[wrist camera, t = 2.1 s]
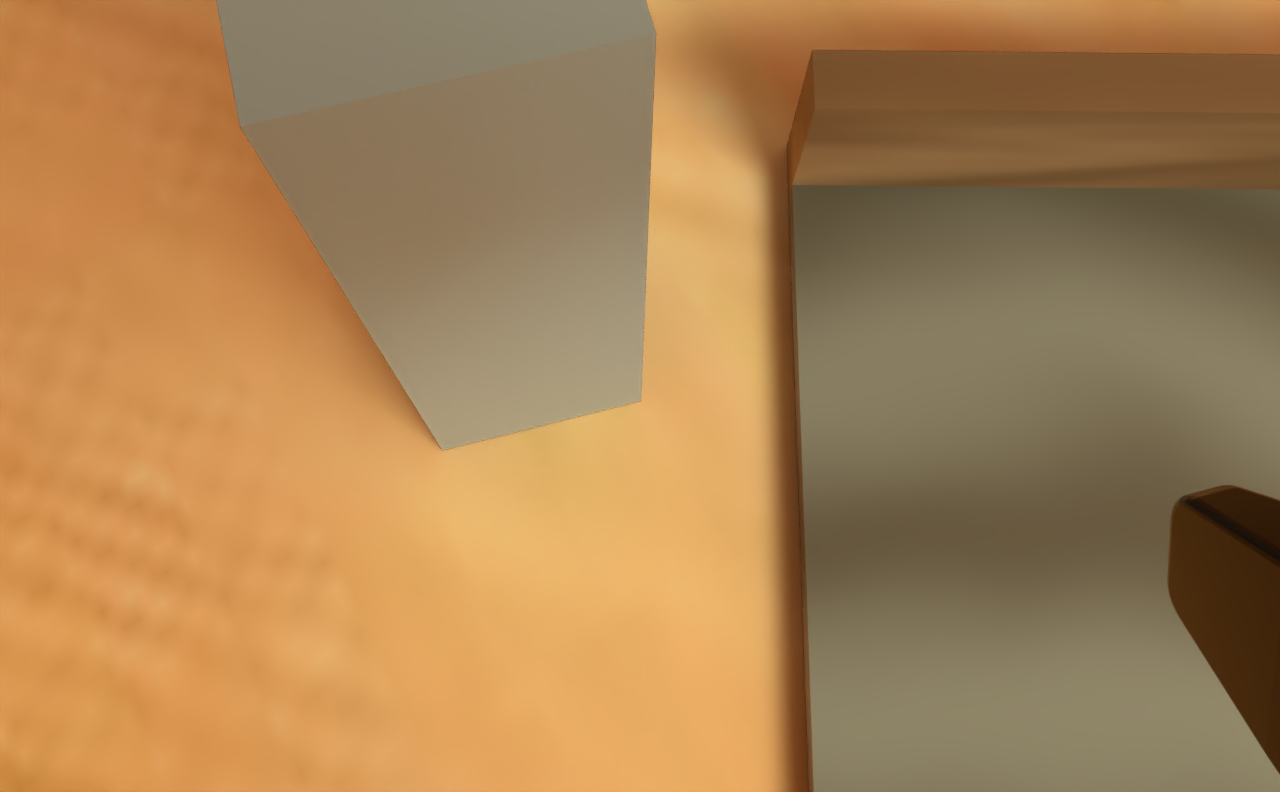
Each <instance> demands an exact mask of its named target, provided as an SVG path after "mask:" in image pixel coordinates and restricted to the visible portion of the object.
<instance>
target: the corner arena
mask: <svg viewBox="0 0 1280 792" xmlns="http://www.w3.org/2000/svg"><path fill="white" fill-rule="evenodd" d="M787 171H788V200H789V229H790V258H791V287H792V316H793V345H794V375H795V404H796V433H797V462H798V491H799V520H800V549H801V578H802V608H803V637H804V666H805V695H806V724H807V753H808V782H809V792H1280V774H1279V773H1278V771H1277V770H1276V769H1275V767H1274V766H1273V764H1272V763H1271V761H1270V760H1269V758H1268V757H1267V755H1266V754H1265V752H1264V751H1263V749H1262V747H1261V746H1260V744H1259V743H1258V741H1257V740H1256V738H1255V736H1254V735H1253V733H1252V732H1251V730H1250V729H1249V727H1248V725H1247V724H1246V722H1245V721H1244V719H1243V718H1242V716H1241V714H1240V713H1239V711H1238V710H1237V708H1236V706H1235V705H1234V703H1233V702H1232V700H1231V699H1230V697H1229V695H1228V694H1227V692H1226V691H1225V689H1224V688H1223V686H1222V684H1221V683H1220V681H1219V680H1218V678H1217V676H1216V675H1215V673H1214V672H1213V670H1212V669H1211V667H1210V665H1209V664H1208V662H1207V661H1206V659H1205V658H1204V656H1203V654H1202V653H1201V651H1200V650H1199V648H1198V646H1197V645H1196V643H1195V642H1194V640H1193V639H1192V637H1191V635H1190V634H1189V632H1188V631H1187V629H1186V628H1185V626H1184V624H1183V623H1182V621H1181V620H1180V618H1179V616H1178V615H1177V613H1176V611H1175V609H1174V607H1173V604H1172V602H1171V599H1170V596H1169V591H1168V584H1167V575H1168V557H1169V540H1170V523H1171V513H1172V508H1173V506H1174V504H1175V502H1176V501H1177V500H1178V499H1179V498H1181V497H1182V496H1184V495H1187V494H1191V493H1195V492H1198V491H1202V490H1206V489H1210V488H1213V487H1217V486H1222V485H1234V486H1238V487H1242V488H1245V489H1248V490H1251V491H1254V492H1257V493H1260V494H1263V495H1266V496H1269V497H1273V498H1276V499H1279V500H1280V55H1266V54H1167V53H1067V52H968V51H869V50H812V53H811V57H810V61H809V65H808V68H807V72H806V76H805V80H804V83H803V87H802V91H801V95H800V98H799V102H798V106H797V110H796V113H795V117H794V121H793V125H792V129H791V132H790V136H789V140H788V144H787Z"/></svg>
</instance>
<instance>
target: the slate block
mask: <svg viewBox="0 0 1280 792" xmlns="http://www.w3.org/2000/svg"><path fill="white" fill-rule="evenodd" d="M216 1H217V7H218V12H219V17H220V23H221V28H222V33H223V39H224V44H225V50H226V55H227V60H228V66H229V71H230V76H231V82H232V87H233V92H234V98H235V103H236V109H237V114H238V119H239V125H240V128H241V129H242V131H243V132H244V134H245V136H246V137H247V139H248V140H249V142H250V144H251V145H252V147H253V148H254V150H255V152H256V153H257V155H258V156H259V158H260V160H261V161H262V163H263V164H264V166H265V168H266V169H267V171H268V172H269V174H270V176H271V177H272V179H273V180H274V182H275V184H276V185H277V187H278V188H279V190H280V192H281V193H282V195H283V196H284V198H285V200H286V201H287V203H288V204H289V206H290V208H291V209H292V211H293V212H294V214H295V216H296V217H297V219H298V220H299V222H300V224H301V225H302V227H303V228H304V230H305V232H306V233H307V235H308V236H309V238H310V240H311V241H312V243H313V244H314V246H315V248H316V249H317V251H318V252H319V254H320V256H321V257H322V259H323V260H324V262H325V264H326V265H327V267H328V268H329V270H330V272H331V273H332V275H333V276H334V278H335V280H336V281H337V283H338V284H339V286H340V288H341V289H342V291H343V292H344V294H345V296H346V297H347V299H348V300H349V302H350V304H351V305H352V307H353V308H354V310H355V312H356V313H357V315H358V316H359V318H360V320H361V321H362V323H363V324H364V326H365V328H366V329H367V331H368V332H369V334H370V336H371V337H372V339H373V340H374V342H375V344H376V345H377V347H378V348H379V350H380V352H381V353H382V355H383V356H384V358H385V360H386V361H387V363H388V364H389V366H390V368H391V369H392V371H393V372H394V374H395V375H396V377H397V379H398V380H399V382H400V383H401V385H402V387H403V388H404V390H405V391H406V393H407V395H408V396H409V398H410V399H411V401H412V403H413V404H414V406H415V407H416V409H417V411H418V412H419V414H420V415H421V417H422V419H423V420H424V422H425V423H426V425H427V427H428V428H429V430H430V431H431V433H432V435H433V436H434V438H435V439H436V441H437V443H438V444H439V446H440V447H441V449H442V451H443V450H447V449H451V448H455V447H459V446H463V445H467V444H471V443H475V442H479V441H483V440H487V439H491V438H495V437H499V436H503V435H507V434H511V433H515V432H519V431H523V430H527V429H531V428H535V427H539V426H543V425H547V424H551V423H555V422H559V421H563V420H567V419H571V418H575V417H579V416H583V415H587V414H591V413H595V412H599V411H603V410H607V409H611V408H615V407H619V406H623V405H627V404H631V403H635V402H639V401H641V390H642V365H643V341H644V317H645V293H646V268H647V244H648V220H649V196H650V171H651V147H652V123H653V99H654V74H655V50H656V32H655V28H654V25H653V22H652V18H651V15H650V12H649V9H648V5H647V2H646V0H216Z"/></svg>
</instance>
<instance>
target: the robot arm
mask: <svg viewBox="0 0 1280 792" xmlns="http://www.w3.org/2000/svg"><path fill="white" fill-rule="evenodd" d="M1167 584H1168V591H1169V596H1170V599H1171V602H1172V604H1173V607H1174V609H1175V611H1176V613H1177V615H1178V616H1179V618H1180V620H1181V621H1182V623H1183V624H1184V626H1185V628H1186V629H1187V631H1188V632H1189V634H1190V635H1191V637H1192V639H1193V640H1194V642H1195V643H1196V645H1197V646H1198V648H1199V650H1200V651H1201V653H1202V654H1203V656H1204V658H1205V659H1206V661H1207V662H1208V664H1209V665H1210V667H1211V669H1212V670H1213V672H1214V673H1215V675H1216V676H1217V678H1218V680H1219V681H1220V683H1221V684H1222V686H1223V688H1224V689H1225V691H1226V692H1227V694H1228V695H1229V697H1230V699H1231V700H1232V702H1233V703H1234V705H1235V706H1236V708H1237V710H1238V711H1239V713H1240V714H1241V716H1242V718H1243V719H1244V721H1245V722H1246V724H1247V725H1248V727H1249V729H1250V730H1251V732H1252V733H1253V735H1254V736H1255V738H1256V740H1257V741H1258V743H1259V744H1260V746H1261V747H1262V749H1263V751H1264V752H1265V754H1266V755H1267V757H1268V758H1269V760H1270V761H1271V763H1272V764H1273V766H1274V767H1275V769H1276V770H1277V771H1278V773H1279V774H1280V500H1279V499H1276V498H1273V497H1269V496H1266V495H1263V494H1260V493H1257V492H1254V491H1251V490H1248V489H1245V488H1242V487H1238V486H1234V485H1222V486H1217V487H1213V488H1210V489H1206V490H1202V491H1198V492H1195V493H1191V494H1187V495H1184V496H1182V497H1181V498H1179V499H1178V500H1177V501H1176V502H1175V504H1174V506H1173V508H1172V513H1171V523H1170V540H1169V557H1168V575H1167Z"/></svg>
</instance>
